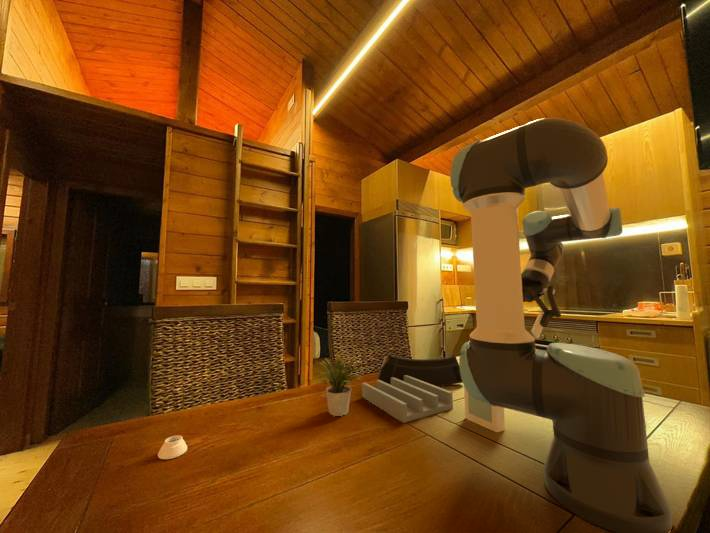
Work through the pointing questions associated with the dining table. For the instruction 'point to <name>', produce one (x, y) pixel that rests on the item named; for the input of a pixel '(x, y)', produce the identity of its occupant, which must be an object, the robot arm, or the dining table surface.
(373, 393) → the notched rack
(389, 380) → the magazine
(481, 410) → the picture frame
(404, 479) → the dining table surface
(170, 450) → the upturned cream bowl
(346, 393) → the house plant
